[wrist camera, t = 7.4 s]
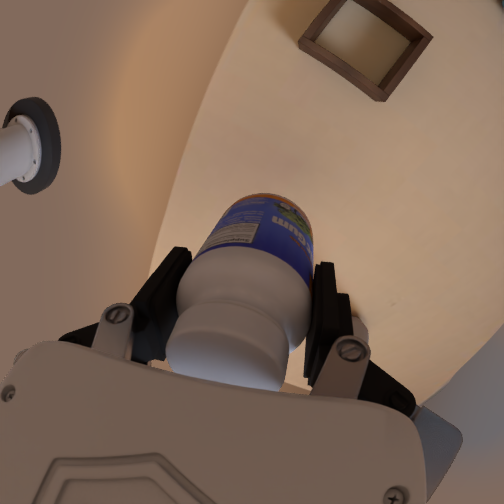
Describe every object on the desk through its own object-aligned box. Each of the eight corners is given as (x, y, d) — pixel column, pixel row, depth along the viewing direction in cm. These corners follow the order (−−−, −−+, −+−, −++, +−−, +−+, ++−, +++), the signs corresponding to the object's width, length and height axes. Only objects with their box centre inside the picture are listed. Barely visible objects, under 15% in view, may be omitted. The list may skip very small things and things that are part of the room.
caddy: (299, 48, 23) (297, 41, 20) (345, -10, 18) (350, -24, 15) (375, 101, 25) (385, 102, 21) (420, 42, 20) (433, 36, 16)
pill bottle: (326, 256, 17) (332, 403, 8) (247, 283, 19) (204, 416, 10) (288, 174, 15) (264, 287, 6) (204, 212, 17) (116, 329, 8)
